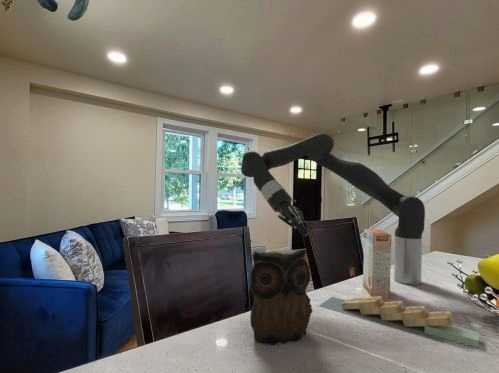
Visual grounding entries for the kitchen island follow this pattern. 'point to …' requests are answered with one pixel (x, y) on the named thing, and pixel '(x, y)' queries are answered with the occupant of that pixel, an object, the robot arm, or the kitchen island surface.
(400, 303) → the domino
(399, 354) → the kitchen island surface
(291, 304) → the owl
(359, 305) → the domino
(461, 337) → the domino
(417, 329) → the mat
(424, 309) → the domino
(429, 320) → the domino
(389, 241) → the cracker box
